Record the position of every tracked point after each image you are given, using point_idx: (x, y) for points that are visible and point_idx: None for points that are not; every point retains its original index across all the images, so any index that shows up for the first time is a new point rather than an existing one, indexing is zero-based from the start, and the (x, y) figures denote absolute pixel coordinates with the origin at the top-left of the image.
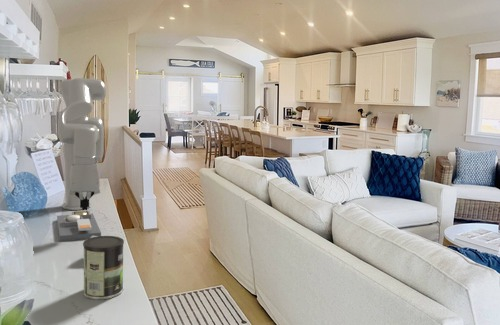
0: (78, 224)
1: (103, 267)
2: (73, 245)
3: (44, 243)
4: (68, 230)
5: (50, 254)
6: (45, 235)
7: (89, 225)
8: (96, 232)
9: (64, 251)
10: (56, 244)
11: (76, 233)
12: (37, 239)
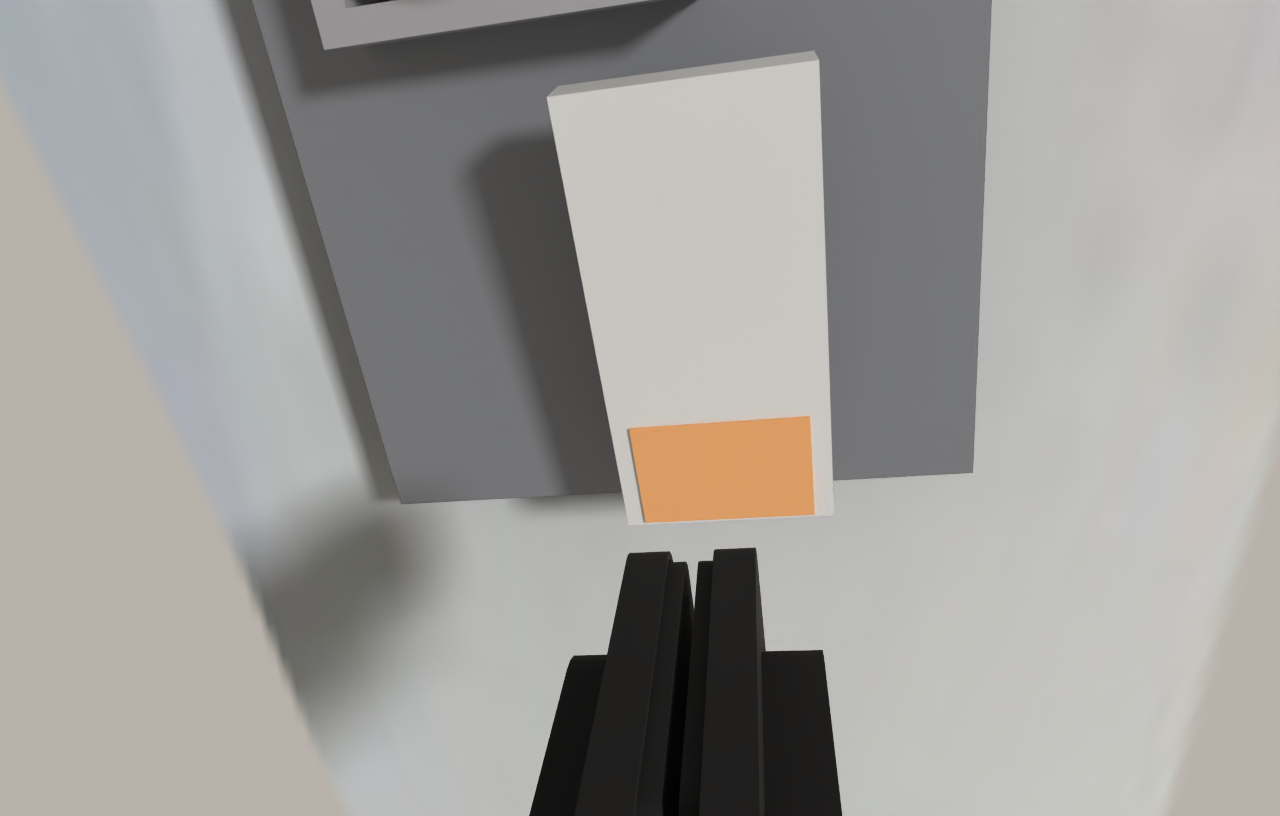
0: (609, 371)
1: None
2: (603, 624)
3: (273, 498)
4: (467, 271)
5: (425, 787)
6: (170, 175)
7: (804, 446)
8: (903, 453)
9: (535, 753)
10: (413, 556)
11: (606, 444)
12: (138, 337)
